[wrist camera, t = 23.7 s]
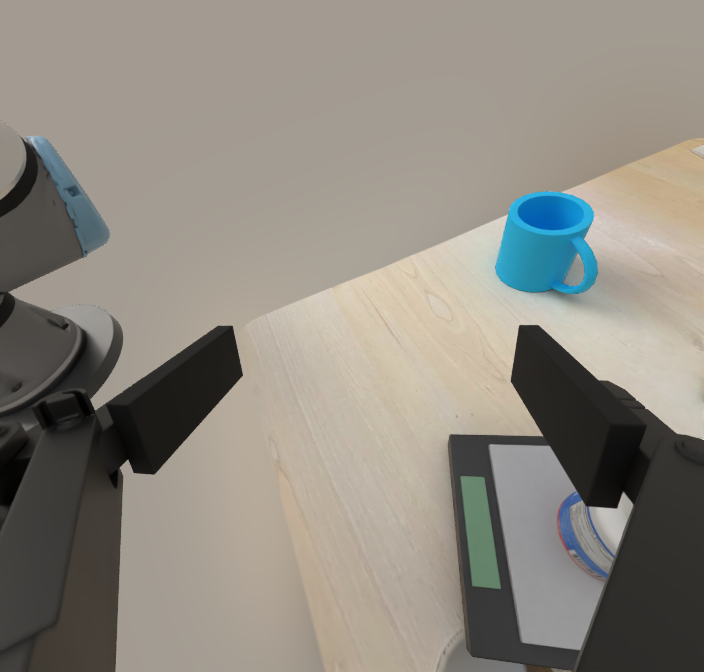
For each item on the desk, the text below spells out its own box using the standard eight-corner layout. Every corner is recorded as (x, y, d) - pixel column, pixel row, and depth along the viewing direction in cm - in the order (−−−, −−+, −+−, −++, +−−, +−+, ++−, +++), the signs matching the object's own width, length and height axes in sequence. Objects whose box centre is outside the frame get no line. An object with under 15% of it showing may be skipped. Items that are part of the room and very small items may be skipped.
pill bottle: (620, 489, 23) (719, 444, 16) (667, 584, 20) (820, 585, 12) (540, 494, 24) (597, 452, 16) (572, 586, 21) (662, 589, 13)
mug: (482, 262, 44) (493, 207, 37) (535, 241, 44) (554, 183, 38) (546, 323, 36) (573, 267, 30) (608, 297, 37) (647, 237, 31)
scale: (466, 650, 22) (472, 658, 19) (447, 443, 30) (450, 431, 28) (751, 689, 19) (800, 704, 17) (643, 449, 27) (666, 436, 25)
